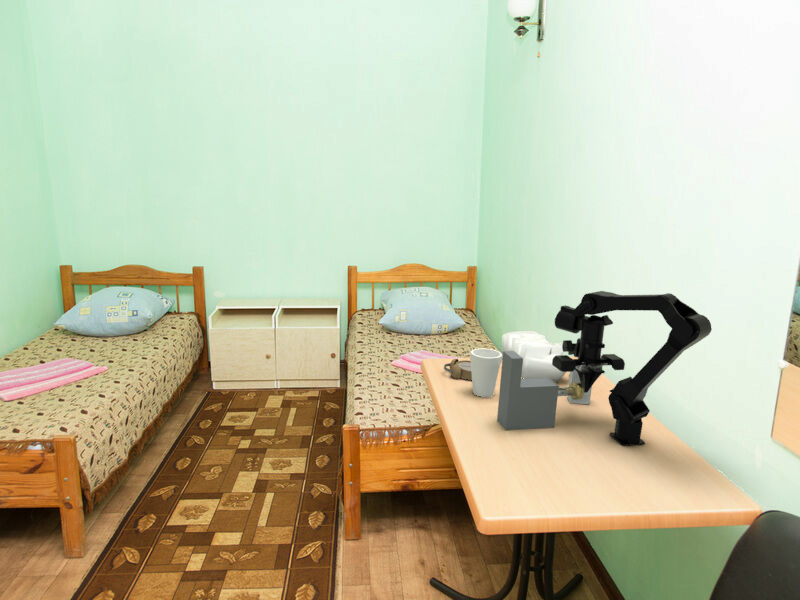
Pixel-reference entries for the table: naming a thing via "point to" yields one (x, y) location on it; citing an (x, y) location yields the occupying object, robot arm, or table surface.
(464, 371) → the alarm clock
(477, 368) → the foam cup
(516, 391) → the block
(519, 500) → the table surface
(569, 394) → the shaft
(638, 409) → the robot arm
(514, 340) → the wavy white extrusion
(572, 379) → the skincare box
